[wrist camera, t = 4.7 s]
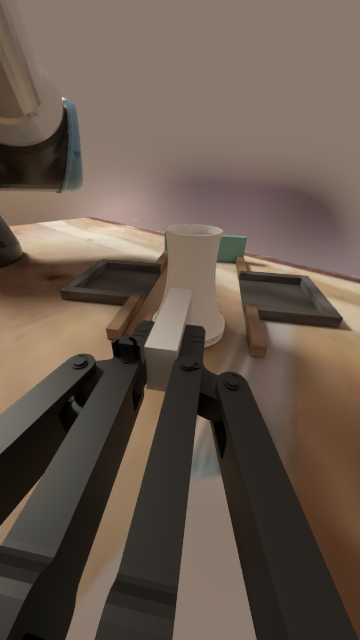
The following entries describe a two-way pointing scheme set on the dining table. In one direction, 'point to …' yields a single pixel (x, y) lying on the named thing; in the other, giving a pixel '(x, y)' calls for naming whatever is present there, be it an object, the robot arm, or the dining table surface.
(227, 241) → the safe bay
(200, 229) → the vase
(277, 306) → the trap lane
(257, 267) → the dining table surface
